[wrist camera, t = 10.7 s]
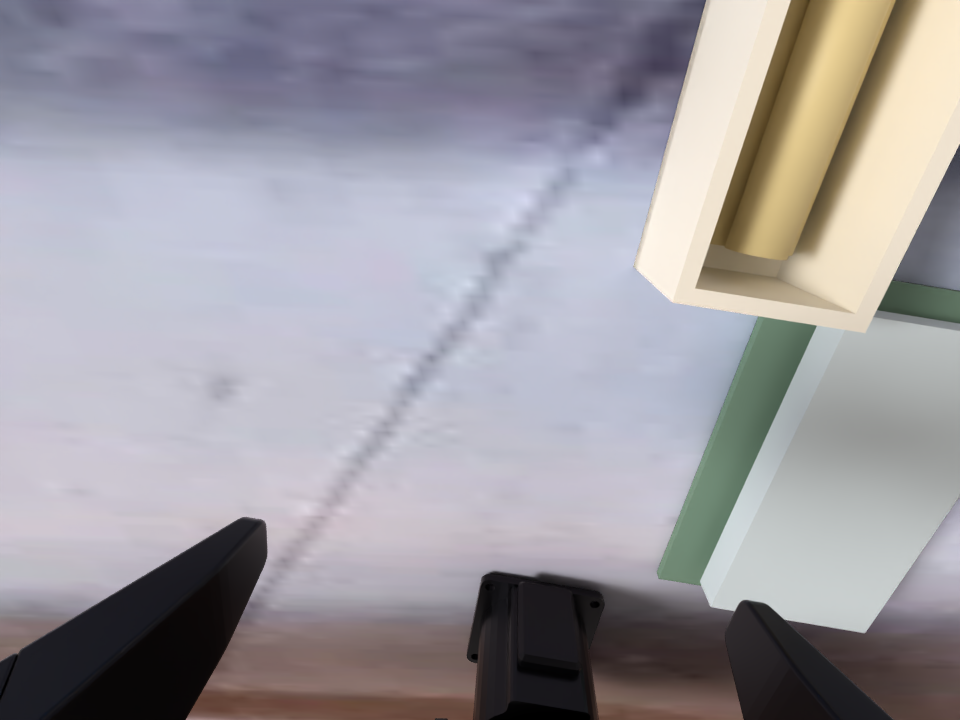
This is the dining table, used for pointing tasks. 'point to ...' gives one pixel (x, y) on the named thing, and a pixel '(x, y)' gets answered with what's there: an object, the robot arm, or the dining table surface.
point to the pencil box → (803, 155)
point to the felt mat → (762, 423)
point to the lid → (847, 476)
